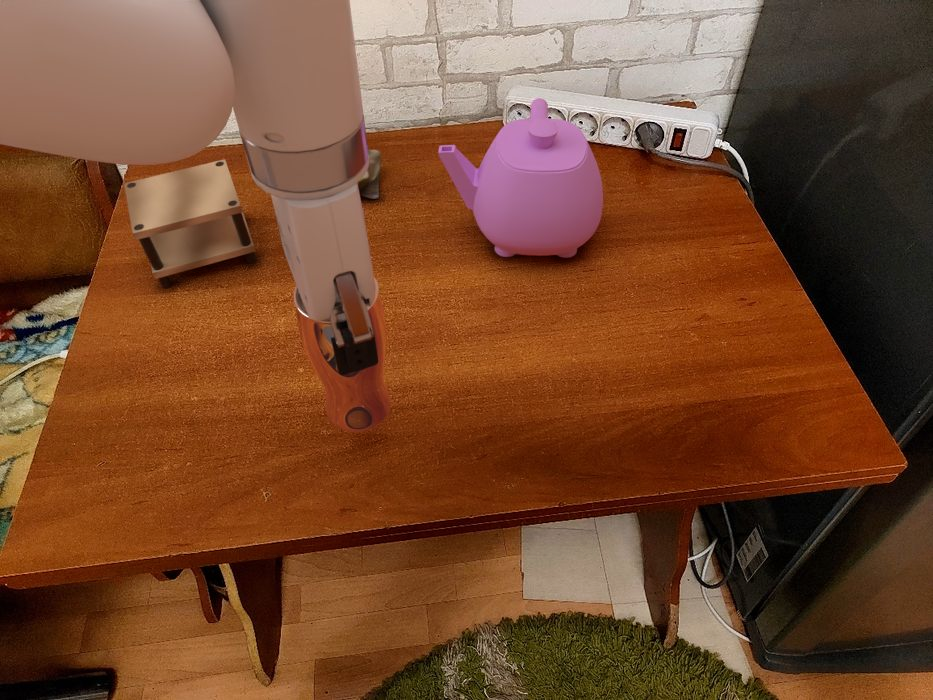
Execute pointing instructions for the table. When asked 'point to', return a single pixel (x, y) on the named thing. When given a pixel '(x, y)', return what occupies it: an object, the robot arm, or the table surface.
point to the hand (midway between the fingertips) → (344, 333)
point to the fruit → (371, 176)
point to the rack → (188, 219)
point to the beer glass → (355, 394)
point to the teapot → (532, 186)
